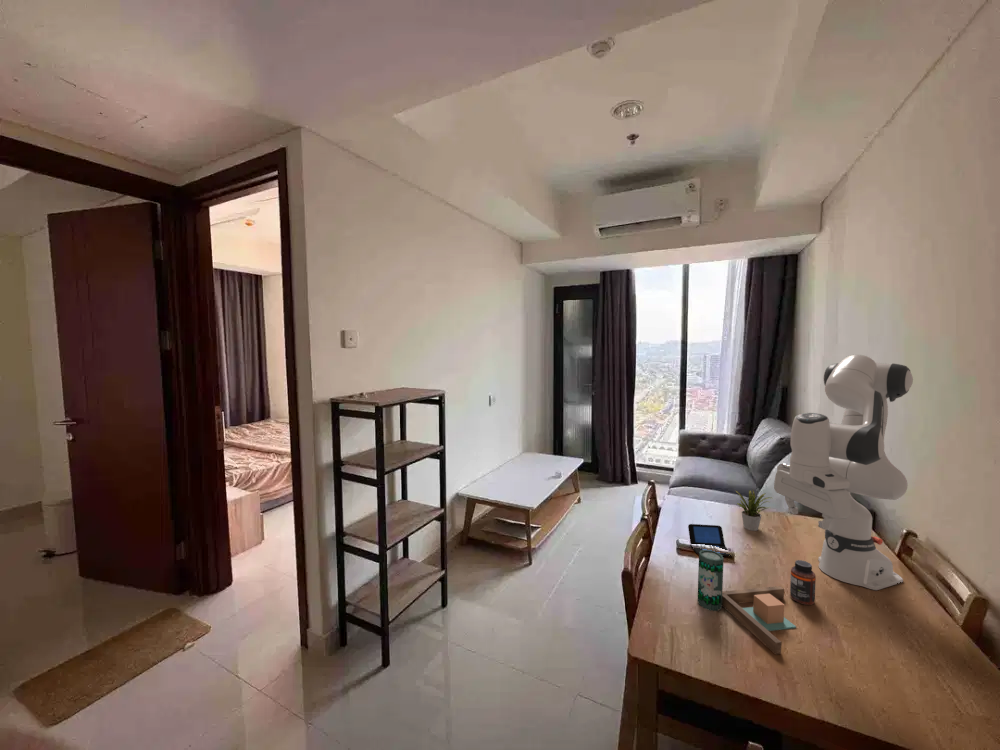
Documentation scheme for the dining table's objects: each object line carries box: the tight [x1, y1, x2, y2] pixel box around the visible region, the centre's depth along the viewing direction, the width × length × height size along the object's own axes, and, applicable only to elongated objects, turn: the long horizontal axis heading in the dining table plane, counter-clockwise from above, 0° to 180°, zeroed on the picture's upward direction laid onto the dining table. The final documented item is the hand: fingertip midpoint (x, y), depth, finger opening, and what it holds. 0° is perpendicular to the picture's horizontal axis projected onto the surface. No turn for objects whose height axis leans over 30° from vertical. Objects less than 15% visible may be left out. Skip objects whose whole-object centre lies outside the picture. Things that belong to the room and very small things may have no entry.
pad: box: [742, 606, 797, 632], centre depth 111 cm, size 9×9×1 cm
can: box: [696, 550, 725, 612], centre depth 116 cm, size 6×6×15 cm
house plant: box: [735, 490, 772, 532], centre depth 165 cm, size 14×14×16 cm
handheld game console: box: [687, 523, 731, 556], centre depth 149 cm, size 12×11×7 cm
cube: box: [752, 594, 785, 624], centre depth 111 cm, size 5×5×5 cm
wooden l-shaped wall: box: [722, 585, 785, 655], centre depth 109 cm, size 21×21×3 cm
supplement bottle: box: [789, 559, 817, 606], centre depth 119 cm, size 6×6×11 cm
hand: (807, 520), depth 111 cm, fingers open, 8 cm apart
